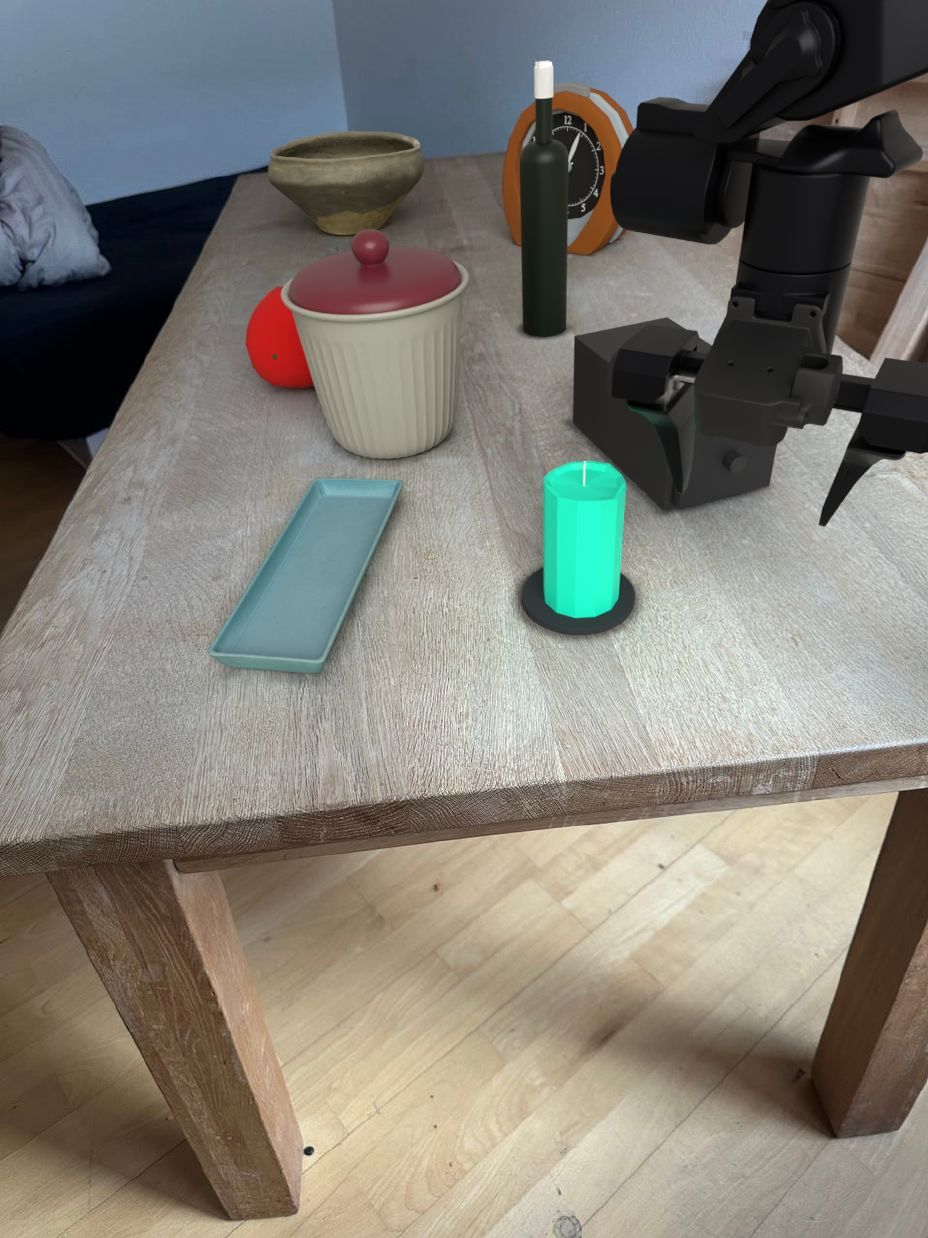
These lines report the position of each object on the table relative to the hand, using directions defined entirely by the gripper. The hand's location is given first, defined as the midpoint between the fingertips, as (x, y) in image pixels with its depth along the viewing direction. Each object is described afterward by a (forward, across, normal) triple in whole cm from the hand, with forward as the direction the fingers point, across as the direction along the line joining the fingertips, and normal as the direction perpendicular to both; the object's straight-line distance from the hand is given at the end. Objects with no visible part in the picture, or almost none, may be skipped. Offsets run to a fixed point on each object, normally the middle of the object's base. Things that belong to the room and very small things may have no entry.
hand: (750, 506), depth 55 cm
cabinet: (+12, -15, +26) cm, 32 cm away
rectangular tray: (+12, -33, -7) cm, 36 cm away
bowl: (+12, -96, +83) cm, 128 cm away
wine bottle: (+12, -40, +51) cm, 66 cm away
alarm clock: (+12, -54, +87) cm, 103 cm away
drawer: (+11, -13, +24) cm, 29 cm away
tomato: (+12, -60, +26) cm, 66 cm away
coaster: (+12, -12, 0) cm, 17 cm away
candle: (+12, -12, 0) cm, 17 cm away
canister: (+12, -42, +17) cm, 47 cm away
